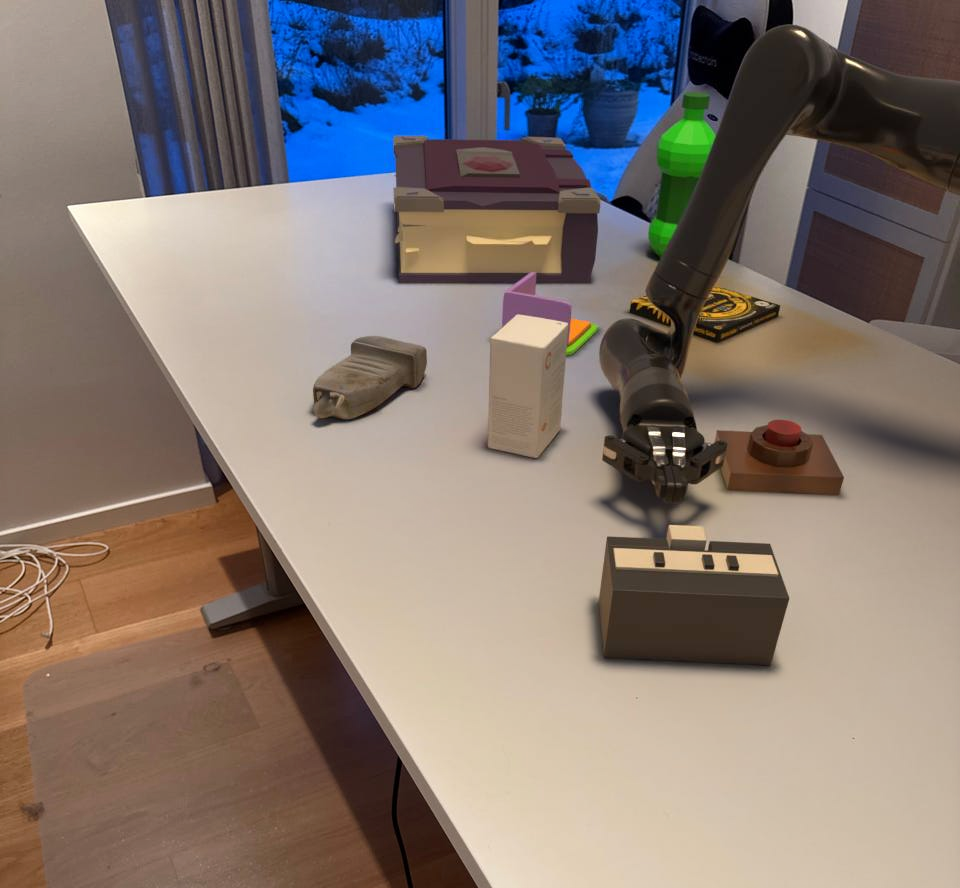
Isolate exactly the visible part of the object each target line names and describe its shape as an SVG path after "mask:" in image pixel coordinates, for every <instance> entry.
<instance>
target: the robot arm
mask: <svg viewBox="0 0 960 888" xmlns="http://www.w3.org/2000/svg"><path fill="white" fill-rule="evenodd" d="M733 81H734V82H733V84H732V87H731V91H730V93H729V95H728V98H727V99H728V100H727V102H726V105H725V108H724V111H723V114H722V117H721V120H720V123H719V126H718V129H717V132H716V133H715V135H716V137H715V139H714V142H713V144H712V147H711V150H710V152H709V155H708V157H707V160H706V162H705V165H704V168H703V170H702V172H701V175H700V177H699V180H698V182H697V184H696V187H695V189H694V191H693V193H692V196H691V198H690V200H689V202H688V205H687V207H686V209H685V211H684V213H683V215H682V217H681V219H680V221H679V223H678V225H677V227H676V229H675V231H674V233H673V235H672V237H671V239H670V241H669V243H668V245H667V247H666V249H665V250H664V252H663V254H662V256H661V258H659V260H658V263H657V264H656V266H655V267H654V270H653V272H652V274H651V276H650V278H649V280H648V283H647V285H646V287H645V296H647V299H648V300H649V301H650V302H651V303H652V304H653V305H654V306H655V307H656V308H657V309H659V310H660V311H661V312H663V313H664V314H665V315H667V316H668V317H669V318H670V319H671V327H670V326H669V327H670V328H669V330H668V332H665V331H663V330H661V329H658V328H657V327H654V326H651V325H649V324H647V323H645V322H643V321H640V320H639V319H635V318H631V317H626V318H621V319H619V320H616V321H615V322H613V323H612V324H611V325H610V326H608V328H607V329H606V331H605V332H604V333H603V336H602V338H601V341H600V344H599V350H598V358H599V359H598V361H599V365H600V370H601V373H602V374H603V375H604V377H605V379H606V380H607V382H609V384H610V385H611V386H612V387H613V389H614V391H616V392H617V393H618V394H619V401H620V402H619V420H620V421H619V422H620V424H621V427H622V433H621V438H618V437H616V436H614V435H606V436H605V437H604V441H603V449H602V458H601V460H602V461H603V462H604V463H606V464H607V465H608V466H610V467H612V468H614V469H615V470H617V471H619V472H620V473H622V474H624V476H627V477H629V478H630V479H632V480H633V481H636V482H638V483H644V482H646V481H647V480H650V481H651V482H652V484H653V485H654V489H655V495H656V496H657V498H659V499H662V500H663V503H664V504H678V505H679V504H681V500H685V499H686V498H687V494H688V489H689V484H690V485H695V486H696V485H698V484H700V483H702V482H703V481H704V480H706V479H708V477H710V476H711V475H713V474H714V473H716V472H717V471H718V470H721V469H720V468H721V467H723V463H724V459H725V454H726V449H727V443H726V442H725V441H716V442H715V441H714V442H713V443H711V442H706V441H705V440H706V439H705V436H704V435H703V434H702V433H701V432H699V431H698V427H697V423H696V419H695V416H694V412H693V408H692V405H691V401H690V398H689V394H688V392H687V390H686V388H685V386H684V385H683V383H682V380H681V378H682V376H683V374H684V372H685V369H686V366H687V361H688V358H689V357H688V355H689V352H690V347H691V344H692V340H693V336H694V335H693V333H694V330H695V326H696V324H697V321H698V318H699V315H700V313H701V310H702V308H703V306H704V304H705V302H706V300H707V298H708V297H709V295H710V293H711V291H712V289H713V288H714V286H716V283H717V282H718V280H719V279H720V276H721V275H722V272H723V271H724V269H725V267H726V265H727V263H728V261H729V260H730V256H731V255H732V252H733V250H734V247H735V245H736V242H737V239H738V236H739V234H740V230H741V227H742V223H743V220H744V218H745V215H746V211H747V208H748V206H749V202H750V200H751V197H752V195H753V192H754V190H755V187H756V186H757V183H758V181H759V179H760V177H761V175H762V173H763V171H764V170H765V168H766V166H767V164H768V162H769V161H770V159H771V157H772V156H773V154H775V151H776V150H777V149H778V147H779V146H780V144H781V143H782V141H783V140H784V138H786V136H793V137H800V138H806V139H810V140H817V141H822V142H825V143H830V144H835V145H839V146H843V147H847V148H851V149H854V150H858V151H861V152H864V153H866V154H869V155H871V156H874V157H875V158H877V159H879V160H881V161H883V162H885V163H886V164H888V165H890V166H891V167H894V168H896V170H899V171H901V172H902V173H904V174H907V175H909V176H910V177H913V178H915V179H917V180H920V181H922V182H923V183H926V184H928V185H931V186H933V187H935V188H938V189H940V190H942V191H945V192H949V193H952V194H954V195H957V196H960V81H959V80H953V79H943V78H942V79H941V78H928V77H919V76H909V75H903V74H899V73H895V72H892V71H889V70H887V69H883V68H881V67H878V66H876V65H873V64H871V63H868V62H866V61H864V60H861V59H859V58H856V57H854V56H852V55H850V54H848V53H847V52H844V51H842V50H840V49H839V48H836V47H835V46H833V45H832V44H830V43H829V42H827V41H826V40H825V39H823V38H821V37H820V36H819V35H817V34H815V32H813V31H812V30H810V29H808V28H806V27H804V26H800V25H798V24H790V23H789V24H783V25H782V24H781V25H778V26H775V27H772V28H771V29H769V30H767V31H766V32H764V33H762V34H761V35H760V36H759V37H758V38H757V39H756V40H755V41H754V42H753V43H752V45H750V46H749V48H748V49H747V51H746V53H745V54H744V57H743V59H742V61H741V64H740V66H739V69H738V71H737V73H736V76H735V79H734V80H733ZM633 461H634V462H635V466H634V465H633Z"/></svg>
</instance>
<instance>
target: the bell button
mask: <svg viewBox="0 0 960 888" xmlns="http://www.w3.org/2000/svg"><path fill="white" fill-rule="evenodd" d="M766 425H767V429H766V433H765V437H764V440H765V441H767V442H768V443H770V444H772V445H776V446H780V447H793V446H797V445H798V441H799V437H800V434H801V431H802V427H801V426H800V425H799V424H798V423H797V422H795V421H791V420H788V419H773V420H770V421H769V422H767V424H766Z"/></svg>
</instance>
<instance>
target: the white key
mask: <svg viewBox="0 0 960 888" xmlns="http://www.w3.org/2000/svg"><path fill="white" fill-rule="evenodd" d="M666 539H667V540H668V545H669V549H686V550H706V546H707V537H706V533H705V529H704V526H702V525H683V524H682V525H680V524H668V529H667V532H666Z"/></svg>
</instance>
